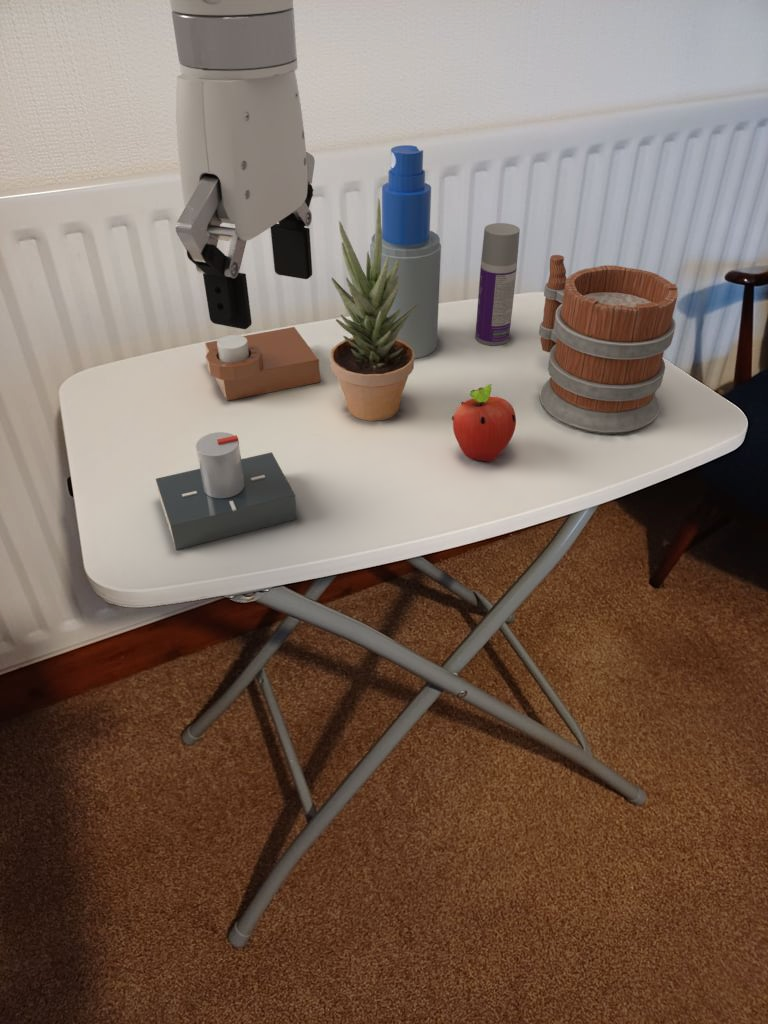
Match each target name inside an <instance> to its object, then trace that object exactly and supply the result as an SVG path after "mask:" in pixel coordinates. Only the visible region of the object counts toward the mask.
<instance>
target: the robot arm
mask: <svg viewBox="0 0 768 1024" xmlns="http://www.w3.org/2000/svg"><path fill="white" fill-rule="evenodd" d="M169 2H170V7H171V8H170V9H171V17H172V24H173V31H174V38H175V45H176V50H177V58H178V62H179V70H180V73H181V74H179V75H178V76H176V90H175V120H176V121H175V122H176V125H175V126H176V138H177V139H176V140H177V153H178V154H177V155H178V163H179V174H180V175H179V176H180V184H181V191H182V199H183V207H184V208H183V211H182V212H181V214H180V216H179V218H178V219H177V221H176V224H175V232H176V235H177V236H178V238H179V240H180V242H181V243H182V245H183V247H184V249H185V250H186V256H187V259H188V260H189V261H190V262H191V263H193V264H194V265H195V269H196V271H197V272H198V273H199V274H202V277H203V283H204V284H203V285H204V289H205V297H206V302H207V309H208V310H207V311H208V315H209V320H210V322H211V323H213V324H215V325H220V326H225V327H229V328H235V329H239V330H247V329H248V328H250V327H251V326H252V323H253V322H252V315H251V306H250V297H249V289H248V280H247V274H246V273H243V272H240V271H241V266H242V261H243V258H244V254H245V249H246V245H247V242H248V241H251V240H253V239H254V238H256V237H258V236H259V235H261V234H263V233H264V232H266V231H267V230H269V229H270V237H271V245H272V246H271V247H272V258H273V259H272V260H273V266H274V268H273V269H274V272H275V274H276V275H278V276H284V277H288V278H289V277H290V278H296V279H302V280H308V279H310V278H311V277H312V276H313V262H312V247H311V231H310V225H311V224H312V220H313V214H312V211H311V209H310V206H311V202H312V199H313V196H314V187H313V185H312V184H313V177H314V171H315V164H316V163H315V162H316V161H315V157H314V156H313V155H312V154H310V152H308V151H307V148H306V147H307V146H306V137H305V127H304V121H303V119H304V118H303V112H302V111H303V110H302V104H301V99H300V98H301V97H300V92H299V86H298V80H297V75H296V70H298V68H299V66H298V53H297V40H296V39H297V38H296V25H295V24H296V23H295V22H296V21H295V10H294V0H169ZM223 223H224V224H231V225H234V227H229V226H223V225H222V224H223ZM221 225H222V226H221ZM219 241H225V242H229V243H228V247H227V251H226V254H225V253H224V252H222V250H220V248H218V242H219Z"/></svg>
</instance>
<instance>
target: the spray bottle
mask: <svg viewBox="0 0 768 1024" xmlns="http://www.w3.org/2000/svg"><path fill="white" fill-rule="evenodd" d="M387 174H388V175H387V178H388V179H387V180H388V181H387V182H386V183H385V184H383V185H381V227H382V258H381V271H382V268H383V266H384V263H385V261H386V258H387V256H388V255H389V262H388V263H389V264H388V270H387V276H388V275H389V273H390V272H391V270H392V268H393V266H394V264H395V263H396V261H397V260H398V258H399V259H400V261H399V268H398V271H397V275H396V277H397V276H398V283H399V288H398V292H397V295H396V298H395V300H394V302H393V304H392V306H391V308H390V310H389V312H388V314H387V317H390V316H391V315H393V314H394V313H396V312H397V311H398V310H399V309H400V310H401V311H400V313H399V315H398V316H397V318H396V319H395V321H394V322H396V321H397V320H398V319H399V318H401V317H402V316H403V315H405V314H406V313H407V312H409V311H410V310H411V309H413V308H414V307H415V306H416V305H417V304H419V306H418V307H417V308H416V309H415V310H414V311H413V312H412V313H411V314H410V315H409V316H408V317H407V320H406V321H405V323H404V325H403V327H402V328H401V329H400V331H399V332H398V336H397V337H396V338H397V339H400V340H402V341H404V342H406V343H407V344H408V345H409V346H410V347H411V348H412V350H413V353H414V360H416V359H420V358H424V357H427V356H428V355H430V354H432V353H433V352H434V351H435V350H436V349H437V345H438V329H439V328H438V327H439V326H438V325H439V305H440V304H439V303H440V302H439V301H440V283H441V282H440V279H441V256H442V244H441V243H440V241H441V240H440V236H439V235H438V233H435V232H434V231H433V230H431V210H432V209H431V208H432V207H431V206H432V186H431V184H429V183H427V182H426V171H425V169H424V150H423V149H422V150H420V149H419V148H418V147H417V146H415V145H410V144H409V145H407V144H406V145H405V144H404V145H403V144H402V145H396V146H393V147H391V149H390V169H389V170H388V172H387ZM374 244H375V233H374V234H373V235H372V237H371V242H370V244H369V256H370V262H371V267H372V262H373V255H374ZM387 276H386V278H387ZM396 286H397V285H396ZM394 322H393V323H394ZM393 323H392V324H393Z"/></svg>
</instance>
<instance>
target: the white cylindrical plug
mask: <svg viewBox="0 0 768 1024" xmlns="http://www.w3.org/2000/svg"><path fill="white" fill-rule="evenodd" d="M244 336H245V335H241V334H240V335H239V334H228V335H225V336H222V337H220V338H219V339H218V340H216V341H217V347H218V354H219V359H220V360H221V361H223V362H233V363H234V362H240V361H243V360H245V359H247V358H249V349H248V341H247V339H246V338H245V337H244Z"/></svg>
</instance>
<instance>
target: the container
mask: <svg viewBox="0 0 768 1024" xmlns="http://www.w3.org/2000/svg"><path fill="white" fill-rule="evenodd" d="M520 232H521V231H520V227H518V226H517V225H515V224H512V223H505V222H495V223H490V224H487V225H485V227H484V230H483V240H482V251H481V258H480V259H481V260H480V270H479V281H478V294H477V295H478V296H477V309H476V324H475V336H474V337H475V340H476V341H477V342H479V343H481V344H482V345H487V346H500V345H501V346H502V345H505V344H506V343H508V342H509V340H510V335H511V326H512V317H513V309H514V308H513V306H514V297H515V288H516V279H517V270H518V258H519V257H518V256H519V245H520V234H521V233H520Z"/></svg>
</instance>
